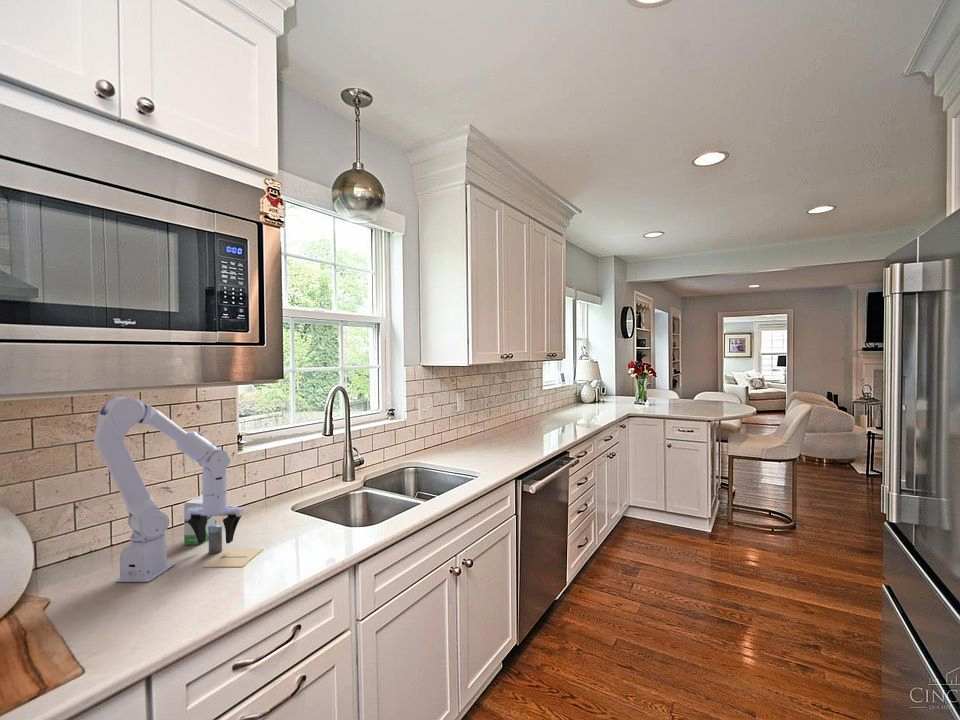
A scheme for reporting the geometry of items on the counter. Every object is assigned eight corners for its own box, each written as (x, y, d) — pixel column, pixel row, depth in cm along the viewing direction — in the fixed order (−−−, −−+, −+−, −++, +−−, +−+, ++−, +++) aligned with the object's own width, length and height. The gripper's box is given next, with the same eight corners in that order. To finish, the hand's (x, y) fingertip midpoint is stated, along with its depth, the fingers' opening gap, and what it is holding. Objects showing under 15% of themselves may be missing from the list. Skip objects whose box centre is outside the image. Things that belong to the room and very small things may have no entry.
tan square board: (242, 567, 117) (242, 566, 117) (203, 567, 117) (203, 566, 117) (263, 549, 128) (263, 548, 128) (227, 549, 128) (227, 548, 128)
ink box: (200, 545, 131) (199, 503, 131) (183, 545, 131) (182, 503, 131) (218, 533, 140) (217, 494, 140) (202, 533, 140) (201, 494, 140)
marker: (217, 554, 125) (217, 528, 125) (205, 554, 125) (205, 528, 125) (224, 549, 128) (224, 523, 128) (213, 549, 128) (212, 524, 128)
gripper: (248, 488, 130) (249, 536, 131) (197, 488, 131) (198, 536, 131) (235, 495, 123) (235, 546, 124) (181, 496, 124) (182, 546, 124)
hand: (215, 542), depth 127 cm, fingers open, 7 cm apart
